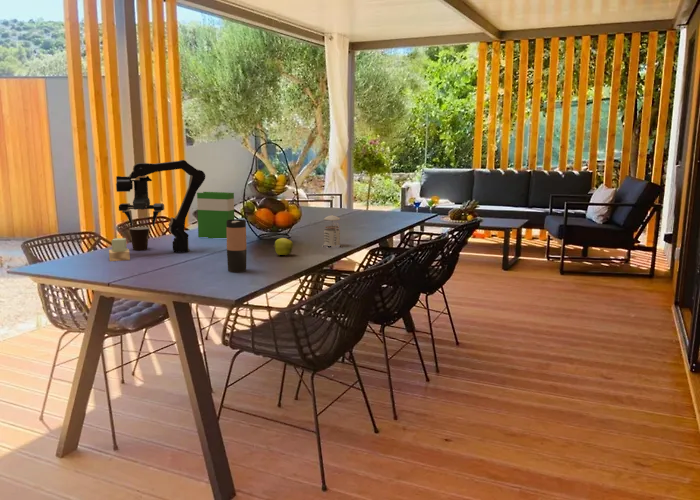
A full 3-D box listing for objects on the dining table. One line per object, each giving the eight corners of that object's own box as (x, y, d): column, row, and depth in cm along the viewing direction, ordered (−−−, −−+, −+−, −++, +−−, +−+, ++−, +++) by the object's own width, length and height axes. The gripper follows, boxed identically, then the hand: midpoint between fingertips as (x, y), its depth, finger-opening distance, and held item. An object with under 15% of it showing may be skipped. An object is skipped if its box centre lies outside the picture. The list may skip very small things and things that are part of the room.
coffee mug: (143, 251, 275) (142, 229, 273) (126, 250, 277) (125, 229, 275) (156, 247, 286) (155, 226, 285) (140, 246, 288) (139, 226, 286)
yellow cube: (126, 249, 259) (126, 238, 258) (124, 251, 254) (124, 239, 253) (114, 249, 258) (113, 238, 257) (112, 251, 253) (111, 240, 252)
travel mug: (241, 267, 241) (240, 218, 238) (250, 271, 235) (249, 220, 232) (223, 270, 237) (222, 220, 233) (232, 273, 231) (231, 222, 227)
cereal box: (198, 237, 318) (196, 192, 314) (205, 235, 325) (203, 191, 321) (228, 239, 314) (227, 193, 309) (234, 237, 321) (233, 192, 316)
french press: (336, 243, 303) (337, 194, 299) (346, 247, 293) (347, 196, 289) (319, 245, 299) (319, 195, 295) (328, 248, 289) (328, 197, 285)
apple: (273, 254, 273) (273, 236, 272) (293, 254, 273) (293, 236, 272) (271, 257, 266) (271, 239, 264) (292, 257, 266) (292, 239, 264)
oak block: (129, 257, 262) (128, 248, 261) (129, 260, 254) (129, 251, 254) (109, 258, 259) (108, 249, 258) (109, 262, 251) (109, 252, 251)
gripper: (115, 192, 255) (117, 228, 258) (160, 192, 258) (161, 228, 261) (120, 190, 266) (122, 225, 269) (163, 190, 269) (165, 225, 272)
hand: (142, 226), depth 267 cm, fingers open, 9 cm apart
